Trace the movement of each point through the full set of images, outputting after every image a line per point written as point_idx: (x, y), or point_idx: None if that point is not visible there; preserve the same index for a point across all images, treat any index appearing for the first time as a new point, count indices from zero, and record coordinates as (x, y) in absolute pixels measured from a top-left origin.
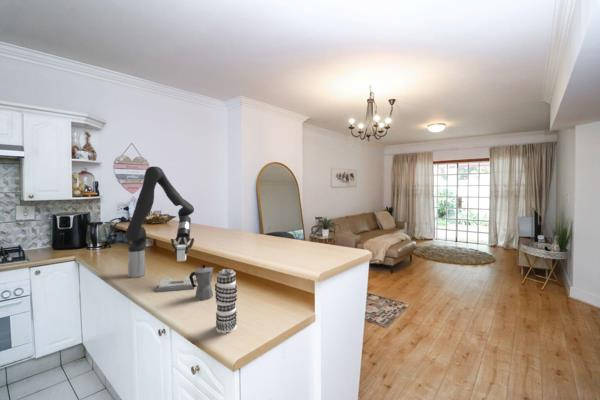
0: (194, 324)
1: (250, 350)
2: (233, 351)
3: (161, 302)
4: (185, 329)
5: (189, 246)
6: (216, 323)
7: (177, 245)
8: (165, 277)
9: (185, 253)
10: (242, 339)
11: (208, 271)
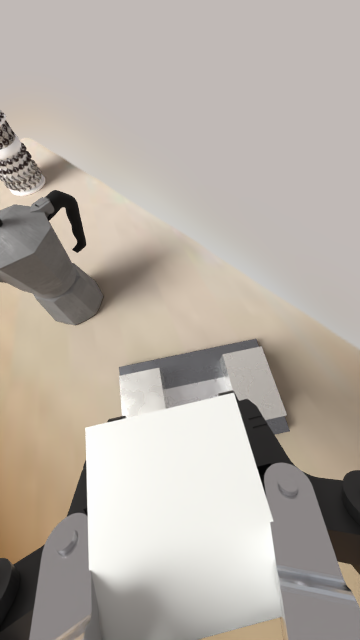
0: (84, 191)
1: None
2: None
3: (193, 270)
4: (97, 179)
5: (24, 559)
6: (36, 164)
7: (281, 523)
8: (272, 416)
9: None
10: None
11: None
